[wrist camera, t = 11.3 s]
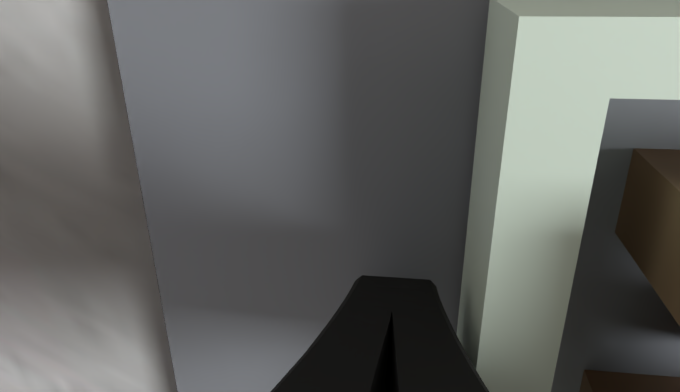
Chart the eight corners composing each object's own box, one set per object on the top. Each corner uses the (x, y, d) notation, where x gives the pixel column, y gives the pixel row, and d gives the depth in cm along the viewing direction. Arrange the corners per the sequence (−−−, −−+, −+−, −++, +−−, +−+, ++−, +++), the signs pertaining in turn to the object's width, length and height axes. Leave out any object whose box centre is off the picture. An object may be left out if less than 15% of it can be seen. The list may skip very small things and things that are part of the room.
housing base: (208, 447, 14) (146, 589, 11) (129, -53, 9) (-22, -54, 6) (886, 522, 12) (1049, 723, 9) (1256, -68, 7) (1912, -81, 4)
